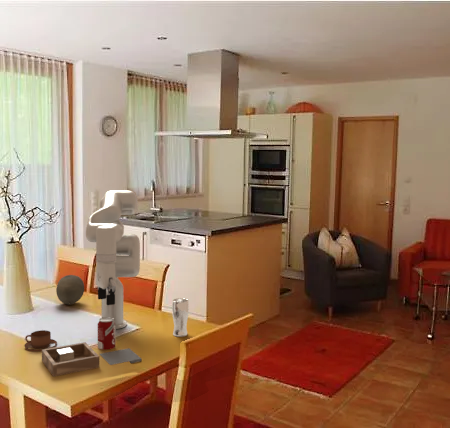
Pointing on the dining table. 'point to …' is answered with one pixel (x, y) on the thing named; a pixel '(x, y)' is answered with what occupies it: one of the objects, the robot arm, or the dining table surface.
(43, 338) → the cup and saucer
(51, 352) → the walnut crate
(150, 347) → the dining table surface
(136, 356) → the slate mat
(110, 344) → the soda can
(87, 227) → the robot arm
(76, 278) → the cantaloupe
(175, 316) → the beer glass
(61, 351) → the metal block
